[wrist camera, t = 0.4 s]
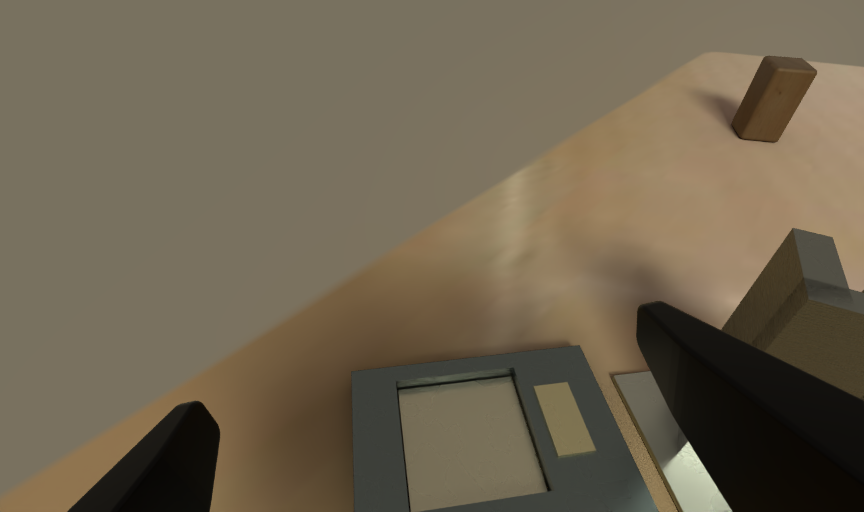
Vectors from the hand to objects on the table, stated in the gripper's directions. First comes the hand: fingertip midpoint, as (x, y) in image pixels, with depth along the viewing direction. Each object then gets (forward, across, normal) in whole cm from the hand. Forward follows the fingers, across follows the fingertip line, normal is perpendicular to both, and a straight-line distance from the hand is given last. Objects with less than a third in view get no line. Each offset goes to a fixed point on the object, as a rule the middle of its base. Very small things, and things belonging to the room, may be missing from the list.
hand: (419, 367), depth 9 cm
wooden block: (+42, -38, +17) cm, 59 cm away
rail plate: (+8, -1, +15) cm, 17 cm away
